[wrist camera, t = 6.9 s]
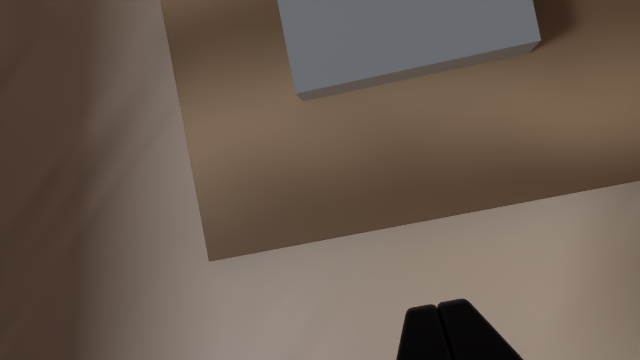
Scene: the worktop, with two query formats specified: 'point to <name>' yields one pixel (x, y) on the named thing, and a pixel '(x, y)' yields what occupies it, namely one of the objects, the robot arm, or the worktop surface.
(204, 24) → the board
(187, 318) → the worktop surface
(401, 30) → the tile
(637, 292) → the worktop surface
